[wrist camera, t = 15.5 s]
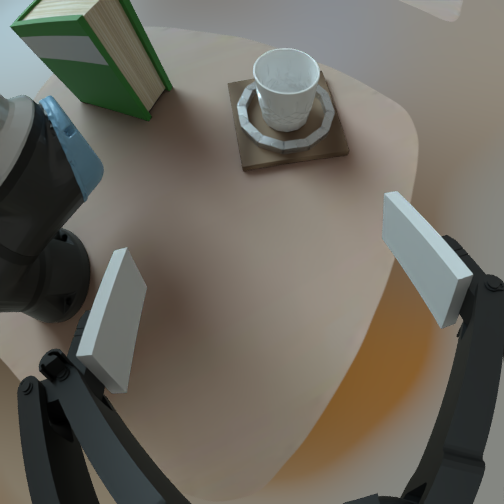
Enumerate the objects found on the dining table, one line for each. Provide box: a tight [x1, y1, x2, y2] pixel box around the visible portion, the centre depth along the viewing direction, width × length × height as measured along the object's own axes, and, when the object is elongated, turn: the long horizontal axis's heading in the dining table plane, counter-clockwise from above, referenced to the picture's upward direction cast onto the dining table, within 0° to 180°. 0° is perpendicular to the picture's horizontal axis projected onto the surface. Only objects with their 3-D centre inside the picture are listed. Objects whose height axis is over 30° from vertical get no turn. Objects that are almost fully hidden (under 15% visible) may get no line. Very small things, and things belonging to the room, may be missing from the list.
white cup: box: [253, 48, 320, 132], centre depth 37 cm, size 8×8×10 cm
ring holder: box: [228, 71, 349, 171], centre depth 42 cm, size 15×15×3 cm
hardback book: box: [10, 0, 172, 121], centre depth 35 cm, size 18×7×24 cm, turn 64°
